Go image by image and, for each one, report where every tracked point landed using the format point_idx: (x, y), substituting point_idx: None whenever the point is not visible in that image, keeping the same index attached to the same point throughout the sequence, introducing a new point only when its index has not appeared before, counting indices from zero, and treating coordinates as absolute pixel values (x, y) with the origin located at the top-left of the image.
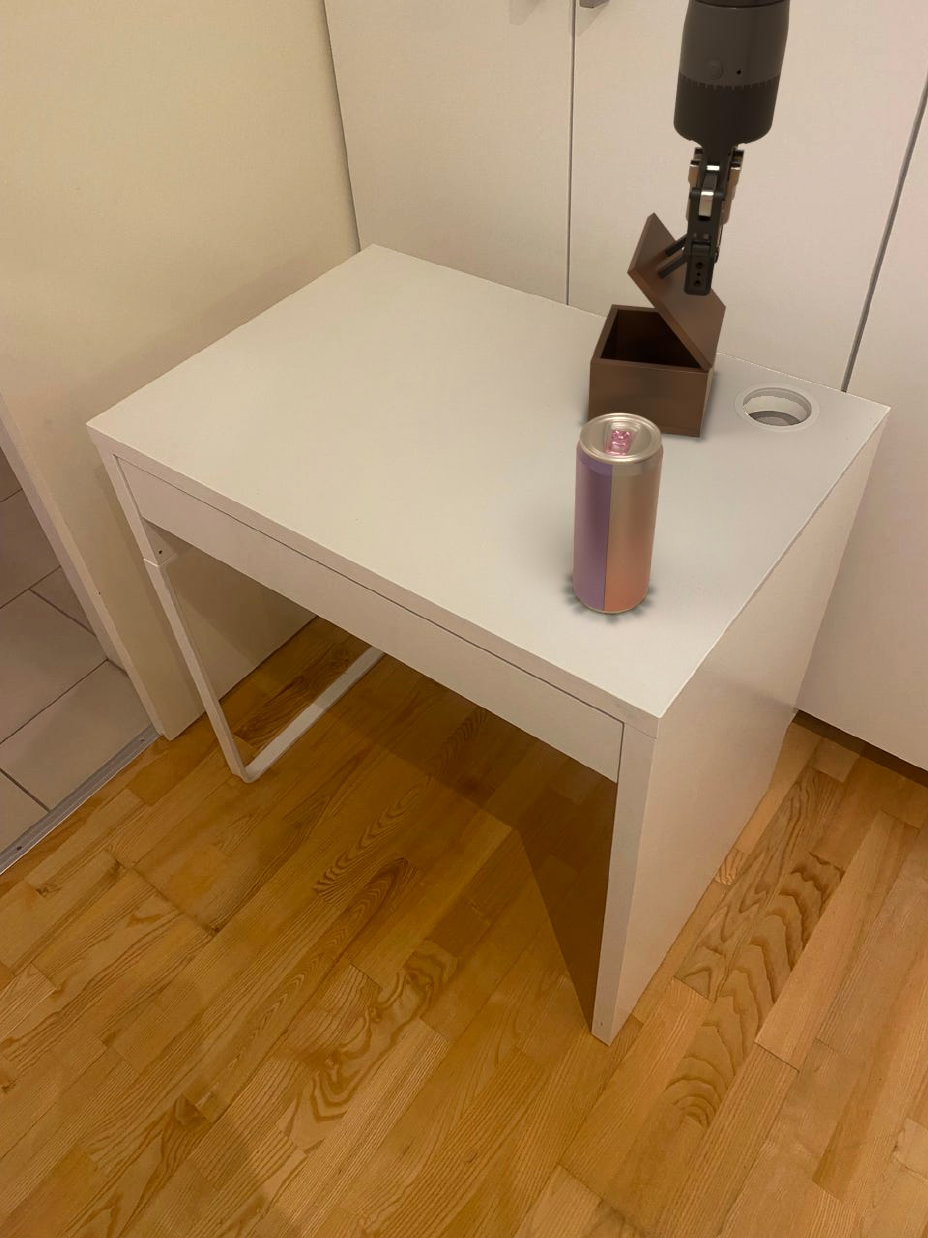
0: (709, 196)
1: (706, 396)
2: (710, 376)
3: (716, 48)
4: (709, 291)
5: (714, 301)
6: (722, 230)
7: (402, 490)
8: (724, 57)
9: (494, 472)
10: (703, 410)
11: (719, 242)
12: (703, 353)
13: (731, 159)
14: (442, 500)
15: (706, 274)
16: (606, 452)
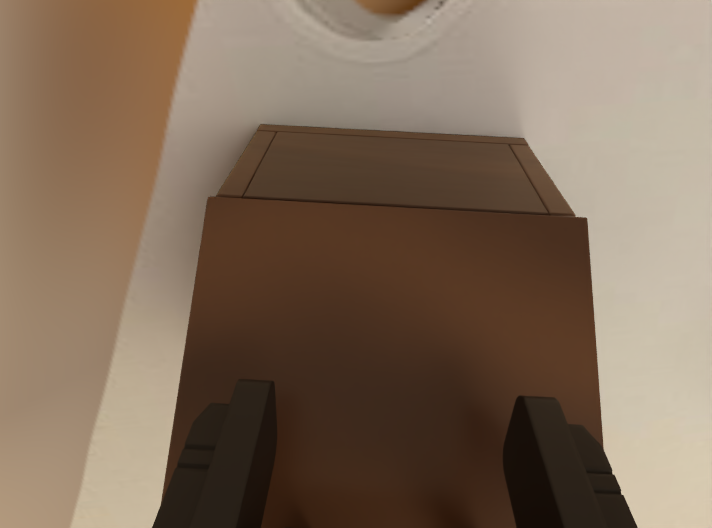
0: None
1: (476, 161)
2: (409, 164)
3: None
4: (558, 404)
5: (253, 254)
6: (219, 499)
7: (650, 523)
8: None
9: (619, 442)
10: (533, 163)
11: (252, 455)
12: (581, 267)
13: None
14: (682, 485)
15: (624, 504)
16: None
